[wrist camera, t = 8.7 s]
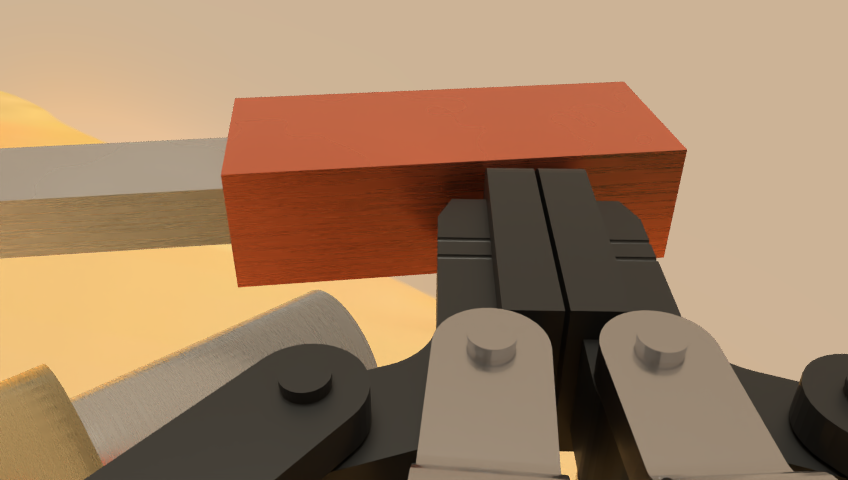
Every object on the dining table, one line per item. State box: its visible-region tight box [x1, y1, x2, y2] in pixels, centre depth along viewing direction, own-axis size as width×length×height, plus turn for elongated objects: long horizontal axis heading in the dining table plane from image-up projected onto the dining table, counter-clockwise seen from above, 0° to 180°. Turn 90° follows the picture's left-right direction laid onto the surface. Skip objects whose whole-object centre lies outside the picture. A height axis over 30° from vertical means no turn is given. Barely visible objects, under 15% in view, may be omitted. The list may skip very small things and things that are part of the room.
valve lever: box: [0, 82, 687, 287], centre depth 13 cm, size 3×16×2 cm, turn 98°
